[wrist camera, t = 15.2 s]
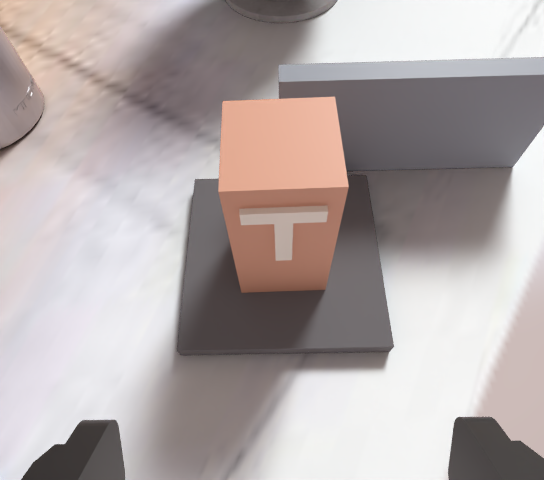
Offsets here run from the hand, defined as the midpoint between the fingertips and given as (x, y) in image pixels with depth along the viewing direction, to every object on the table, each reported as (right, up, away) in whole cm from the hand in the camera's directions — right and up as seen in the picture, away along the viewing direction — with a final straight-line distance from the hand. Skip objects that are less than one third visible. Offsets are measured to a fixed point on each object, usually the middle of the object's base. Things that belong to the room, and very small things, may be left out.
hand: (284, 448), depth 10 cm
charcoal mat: (0, +4, +17) cm, 17 cm away
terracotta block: (0, +4, +16) cm, 16 cm away
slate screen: (+9, +11, +21) cm, 25 cm away
